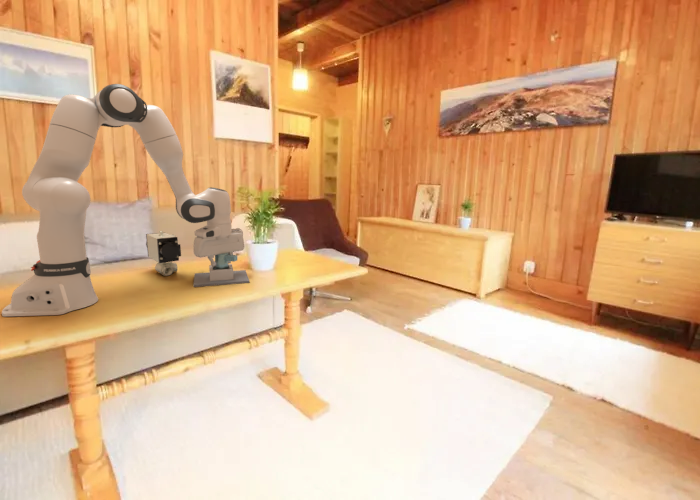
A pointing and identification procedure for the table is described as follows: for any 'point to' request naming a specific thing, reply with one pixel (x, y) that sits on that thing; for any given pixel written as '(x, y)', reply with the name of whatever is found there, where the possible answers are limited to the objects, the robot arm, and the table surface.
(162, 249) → the ball valve
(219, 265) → the elbow
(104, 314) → the table surface
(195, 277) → the grey base plate
